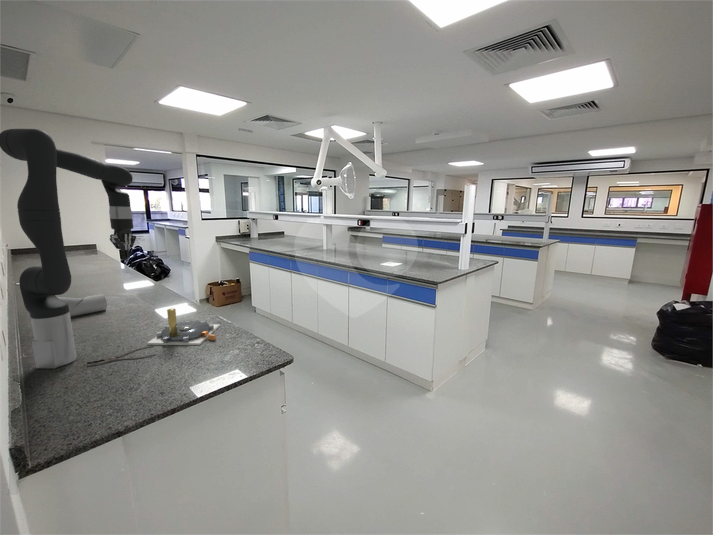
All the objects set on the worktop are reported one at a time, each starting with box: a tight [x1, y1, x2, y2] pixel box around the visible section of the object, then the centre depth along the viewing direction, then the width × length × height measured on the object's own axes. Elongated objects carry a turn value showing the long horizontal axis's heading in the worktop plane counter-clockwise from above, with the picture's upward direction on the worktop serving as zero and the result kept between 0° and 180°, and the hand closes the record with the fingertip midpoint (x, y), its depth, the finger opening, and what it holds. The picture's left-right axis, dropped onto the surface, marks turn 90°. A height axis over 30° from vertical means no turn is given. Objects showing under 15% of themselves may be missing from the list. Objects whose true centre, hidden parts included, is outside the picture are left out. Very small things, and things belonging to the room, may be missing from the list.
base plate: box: [147, 323, 221, 346], centre depth 129 cm, size 20×24×2 cm
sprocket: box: [156, 308, 214, 342], centre depth 128 cm, size 21×21×12 cm
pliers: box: [86, 345, 157, 368], centre depth 108 cm, size 10×1×20 cm
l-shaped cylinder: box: [56, 293, 108, 318], centre depth 150 cm, size 18×11×20 cm
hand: (126, 258), depth 130 cm, fingers closed
